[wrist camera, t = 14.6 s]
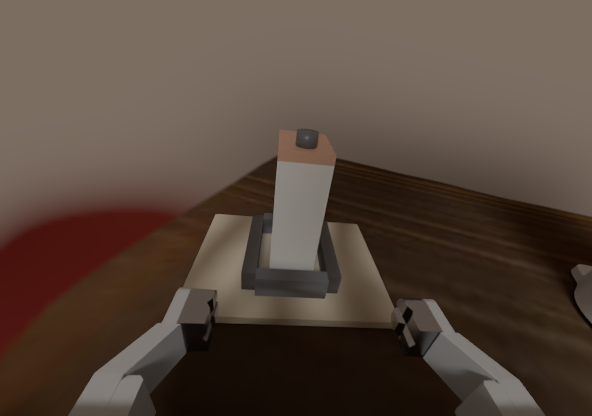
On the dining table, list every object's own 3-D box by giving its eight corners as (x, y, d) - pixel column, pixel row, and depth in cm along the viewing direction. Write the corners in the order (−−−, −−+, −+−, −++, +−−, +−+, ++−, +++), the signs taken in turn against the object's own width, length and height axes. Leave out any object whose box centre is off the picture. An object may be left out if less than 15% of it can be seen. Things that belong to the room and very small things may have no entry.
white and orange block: (306, 241, 28) (327, 122, 21) (311, 278, 23) (339, 140, 16) (271, 239, 27) (280, 117, 21) (268, 276, 23) (279, 134, 16)
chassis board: (355, 229, 32) (360, 211, 31) (397, 328, 20) (409, 306, 19) (216, 219, 31) (215, 200, 29) (172, 321, 19) (166, 297, 17)
